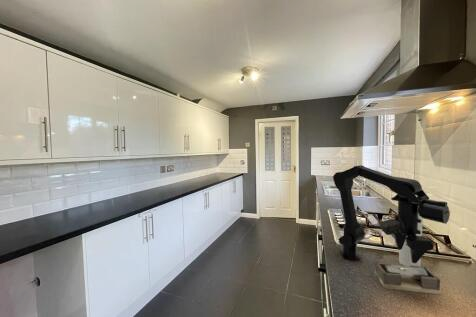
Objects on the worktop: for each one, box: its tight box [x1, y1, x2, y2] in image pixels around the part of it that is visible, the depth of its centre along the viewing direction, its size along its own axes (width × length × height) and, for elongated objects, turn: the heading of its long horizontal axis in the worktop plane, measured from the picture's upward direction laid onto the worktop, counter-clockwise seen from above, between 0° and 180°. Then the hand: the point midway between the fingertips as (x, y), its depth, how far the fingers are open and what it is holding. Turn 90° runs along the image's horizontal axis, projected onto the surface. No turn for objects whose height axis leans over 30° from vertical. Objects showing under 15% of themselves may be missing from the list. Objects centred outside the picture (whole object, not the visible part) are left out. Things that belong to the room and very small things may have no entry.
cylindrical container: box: [398, 213, 424, 267], centre depth 87 cm, size 7×7×25 cm
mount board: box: [374, 270, 442, 295], centre depth 76 cm, size 8×17×1 cm, turn 77°
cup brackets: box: [375, 261, 441, 291], centre depth 76 cm, size 8×17×4 cm, turn 77°
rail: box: [384, 264, 428, 280], centre depth 76 cm, size 12×4×4 cm, turn 77°
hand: (406, 255), depth 76 cm, fingers open, 9 cm apart
